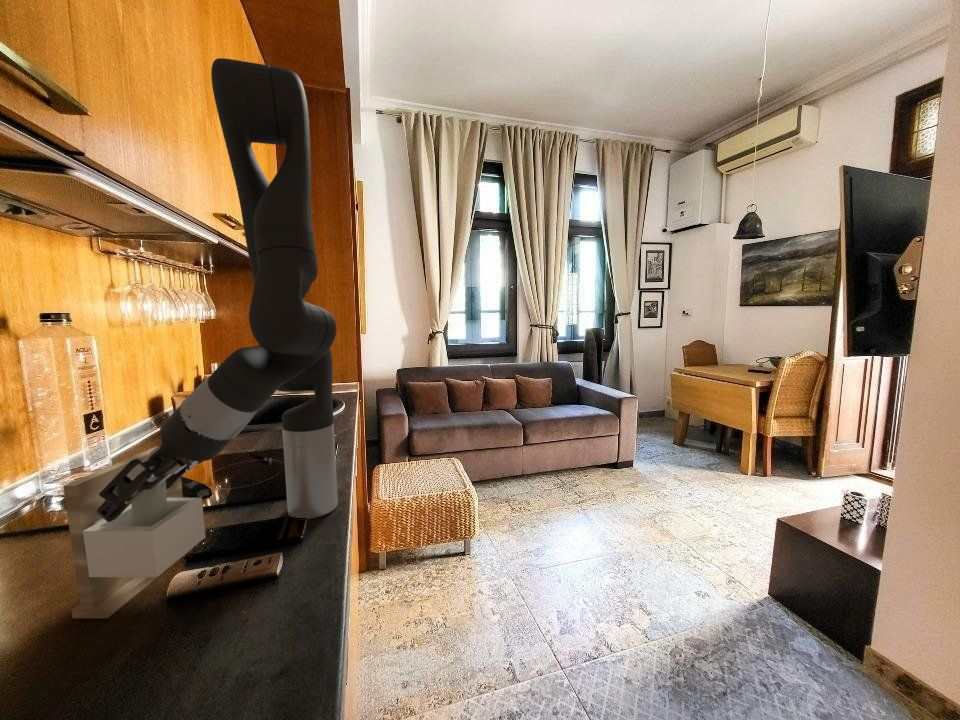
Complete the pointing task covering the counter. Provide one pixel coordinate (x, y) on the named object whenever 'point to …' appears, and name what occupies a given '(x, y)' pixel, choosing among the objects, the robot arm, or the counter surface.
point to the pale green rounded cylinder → (150, 506)
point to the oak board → (82, 505)
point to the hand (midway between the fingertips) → (135, 499)
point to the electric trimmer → (195, 488)
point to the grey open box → (144, 541)
